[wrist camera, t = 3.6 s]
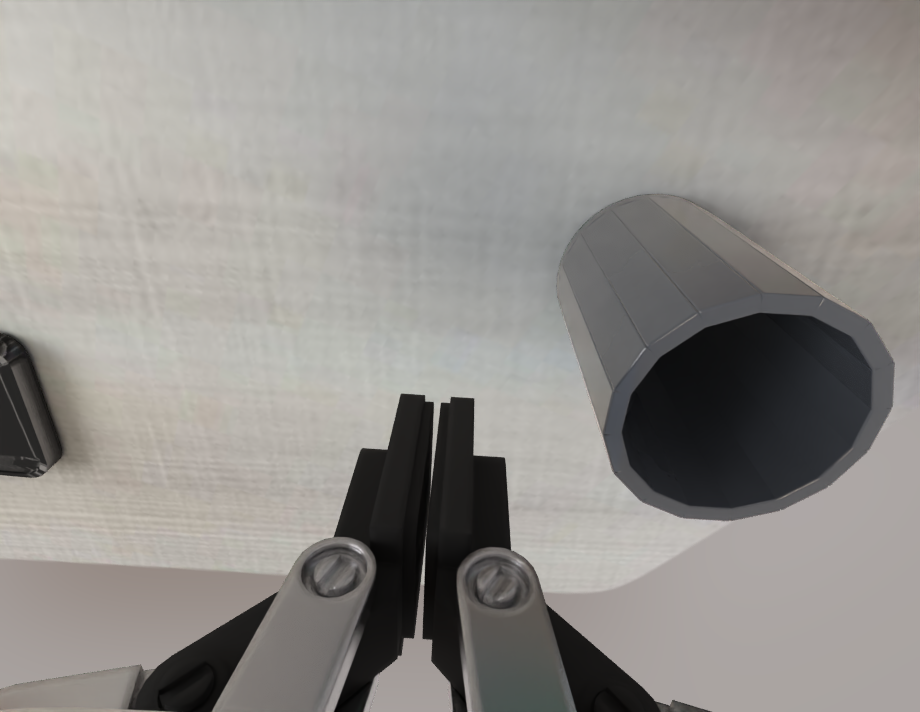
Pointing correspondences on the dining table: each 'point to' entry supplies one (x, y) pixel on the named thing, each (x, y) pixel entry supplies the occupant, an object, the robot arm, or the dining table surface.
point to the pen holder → (716, 362)
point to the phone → (23, 417)
